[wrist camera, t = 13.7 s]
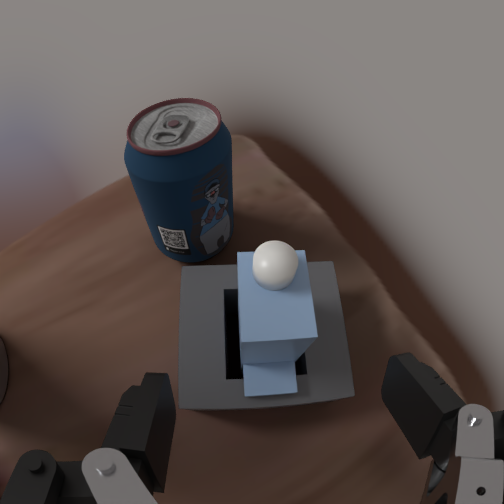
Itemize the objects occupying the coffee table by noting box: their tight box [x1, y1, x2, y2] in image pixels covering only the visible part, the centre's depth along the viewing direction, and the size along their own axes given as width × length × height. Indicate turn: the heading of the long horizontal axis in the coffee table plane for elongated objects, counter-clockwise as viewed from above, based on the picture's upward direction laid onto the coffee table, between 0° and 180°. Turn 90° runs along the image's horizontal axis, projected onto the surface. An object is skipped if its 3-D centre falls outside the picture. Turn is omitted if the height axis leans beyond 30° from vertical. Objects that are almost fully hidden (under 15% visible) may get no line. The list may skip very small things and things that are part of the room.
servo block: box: [237, 241, 318, 397], centre depth 16 cm, size 8×3×12 cm, turn 3°
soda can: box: [124, 98, 233, 263], centre depth 21 cm, size 7×7×12 cm
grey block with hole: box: [178, 261, 355, 410], centre depth 19 cm, size 10×9×5 cm
